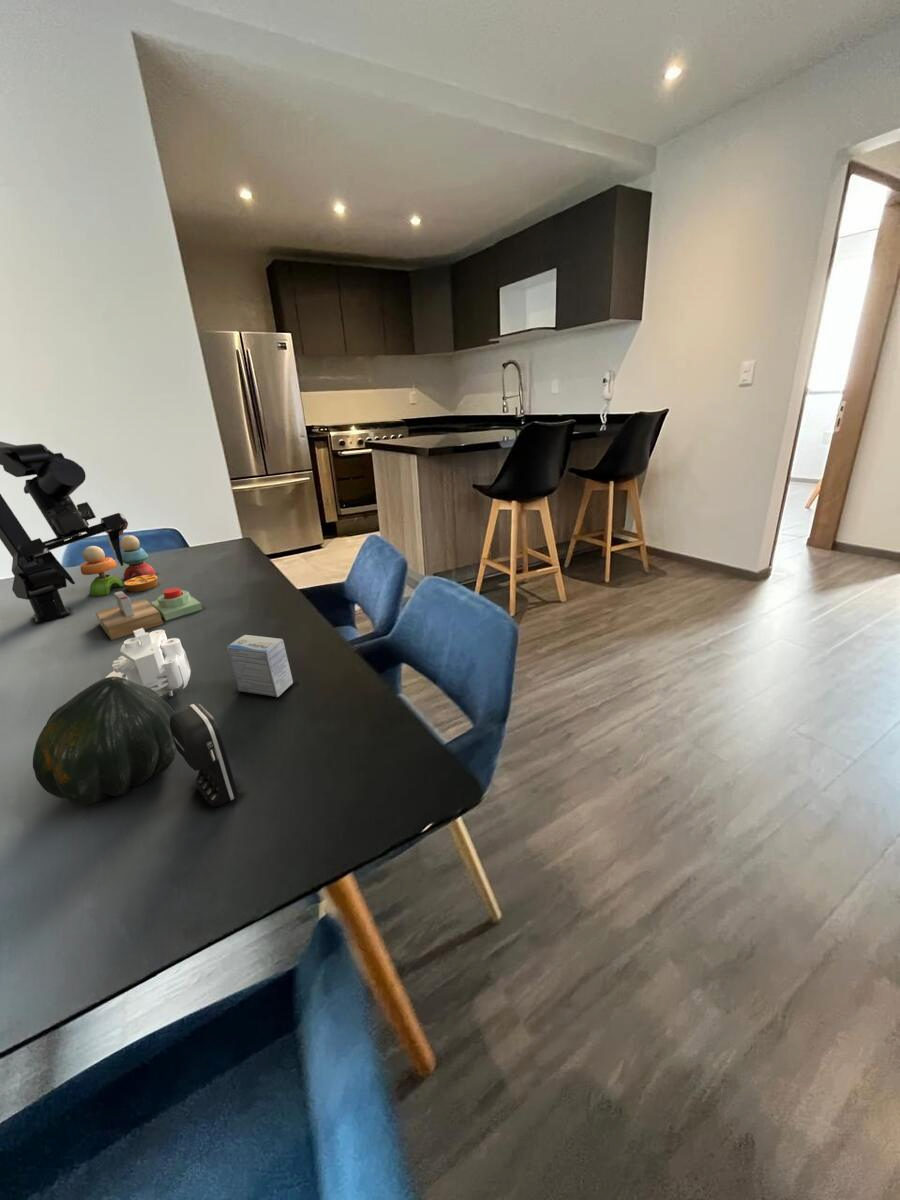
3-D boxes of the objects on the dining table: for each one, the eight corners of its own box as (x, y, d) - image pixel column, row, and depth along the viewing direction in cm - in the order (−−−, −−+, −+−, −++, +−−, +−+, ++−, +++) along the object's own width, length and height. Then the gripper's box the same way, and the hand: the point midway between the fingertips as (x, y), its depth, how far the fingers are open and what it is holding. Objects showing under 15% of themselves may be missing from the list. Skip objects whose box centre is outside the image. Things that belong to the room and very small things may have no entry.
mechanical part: (120, 692, 83) (96, 630, 79) (197, 674, 88) (179, 614, 83) (106, 729, 74) (79, 660, 69) (194, 707, 78) (173, 641, 73)
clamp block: (98, 625, 111) (93, 612, 110) (150, 609, 118) (146, 597, 117) (109, 640, 103) (104, 627, 102) (164, 623, 110) (160, 610, 108)
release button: (163, 597, 116) (161, 590, 115) (179, 593, 118) (177, 586, 118) (167, 601, 114) (165, 594, 113) (184, 596, 116) (182, 589, 115)
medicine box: (294, 684, 83) (284, 638, 79) (277, 698, 79) (266, 651, 75) (255, 678, 85) (244, 633, 82) (237, 692, 81) (225, 646, 78)
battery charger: (187, 787, 61) (161, 711, 57) (218, 770, 64) (195, 696, 59) (208, 816, 57) (181, 736, 52) (241, 798, 59) (217, 719, 55)
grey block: (119, 609, 111) (113, 592, 109) (127, 607, 112) (121, 589, 110) (126, 617, 106) (120, 599, 105) (134, 614, 107) (128, 596, 106)
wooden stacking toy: (146, 593, 128) (131, 547, 124) (82, 597, 129) (65, 551, 124) (181, 570, 145) (169, 529, 140) (125, 573, 146) (111, 533, 141)
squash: (-3, 764, 59) (14, 697, 52) (116, 699, 72) (143, 639, 65) (79, 847, 59) (107, 792, 51) (184, 767, 72) (219, 714, 64)
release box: (152, 608, 118) (148, 595, 117) (187, 598, 123) (183, 585, 122) (166, 620, 111) (161, 606, 110) (202, 609, 116) (198, 595, 115)
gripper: (-7, 511, 88) (44, 589, 91) (107, 479, 98) (149, 550, 101) (2, 525, 97) (48, 595, 100) (106, 494, 107) (144, 559, 110)
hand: (98, 574), depth 102 cm, fingers open, 9 cm apart
